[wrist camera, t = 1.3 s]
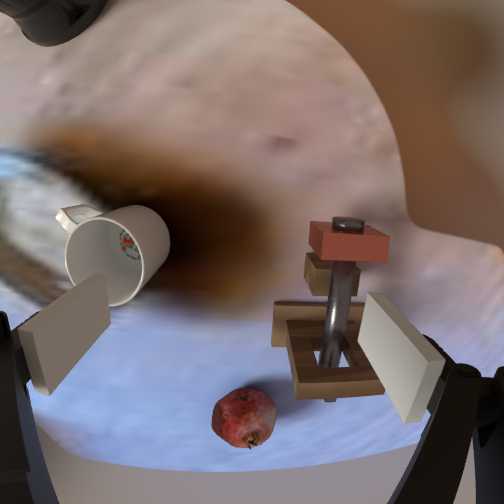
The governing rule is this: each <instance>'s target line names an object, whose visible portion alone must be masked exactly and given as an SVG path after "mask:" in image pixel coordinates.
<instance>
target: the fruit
mask: <svg viewBox="0 0 504 504" xmlns="http://www.w3.org/2000/svg"><path fill="white" fill-rule="evenodd" d="M275 421H276V406H275V404H274V403H273V401H272V400H271V399H270V398H269V397H268V396H267V395H266V394H264V393H263V392H261V391H260V390H257V389H252V388H238V389H236V390H233V391H232V392H230V393H229V394H227V395H226V396H225V397H223V398H222V399H220V400H219V401H218V402H217V403H216V405H215V407H214V410H213V415H212V429H213V431H214V432H215V433H216V434H217V435H218V436H219V437H221V438H222V439H223V440H225V441H226V442H228V443H229V444H230V445H232V446H234V447H241V448H249V449H250V450H251V447H254V446H258V445H261V444H262V443H263V442H265V441H266V440H267V439H268V438H269V437H270V436H271V434H272V432H273V429H274V426H275Z"/></svg>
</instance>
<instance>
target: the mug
mask: <svg viewBox="0 0 504 504" xmlns="http://www.w3.org/2000/svg"><path fill="white" fill-rule="evenodd" d="M77 215H83V216H86V217H88V218H89V219H86V220H84V221H82V222H81V223H79V224H78V223H76V222H75V221H74V220H72V219H71V218H70V217H73V216H77ZM56 219H57V220H58V221H59V222H60V223H61V225H62V226H63V227H64V228H65V229H66V230H67V231H68V232H69V233H71V234H70V236H69V238H68V240H67V244H66V248H65V263H66V268H67V272H68V274H69V277H70V279H71V281H72V283H73V284H74V286H77V285H78V284H79V283H81V282H82V281H84V280H85V279H87V278H88V277H90V276H91V275H93V274H101V275H106V276H107V290H108V301H109V306H118V305H121V304H124V303H126V302H128V301H129V300H131V299H132V298H133V297H134V296H135V295H136V294H137V293H138V292H139V291H140V290H141V288H142V287H143V286H144V285H145V284H146V283H147V282H148V281H149V279H150V278H151V277H152V276H153V275H154V274H155V273H156V272H157V271H158V269H159V268H160V267H161V266H162V265H163V264H164V262H165V260H166V259H167V256H168V254H169V249H170V236H169V231H168V229H167V226H166V224H165V222H164V221H163V219H162V218H161V217H160V216H159V215H158V214H157V213H156V212H155V211H153V210H151V209H150V208H147V207H145V206H141V205H129V206H125V207H122V208H119V209H115V210H112V211H109V212H106V213H103V212H101V211H99V210H97V209H95V208H93V207H91V206H89V205H85V204H82V205H77V206H72V207H66V208H60V210H59V212H58V214H57V216H56Z"/></svg>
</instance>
